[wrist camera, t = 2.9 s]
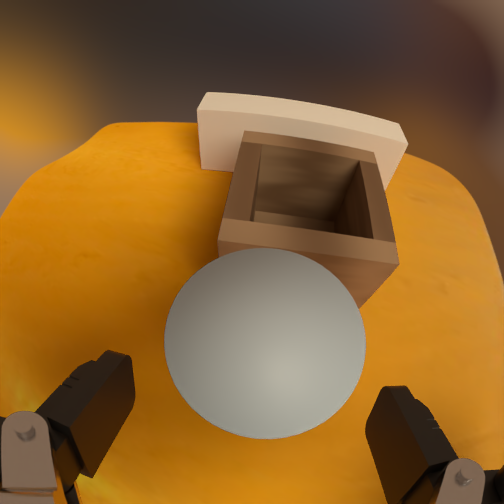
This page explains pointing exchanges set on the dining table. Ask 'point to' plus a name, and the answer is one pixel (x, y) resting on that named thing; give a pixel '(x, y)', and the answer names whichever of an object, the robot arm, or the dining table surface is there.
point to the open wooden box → (312, 208)
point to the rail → (291, 128)
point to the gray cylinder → (264, 343)
